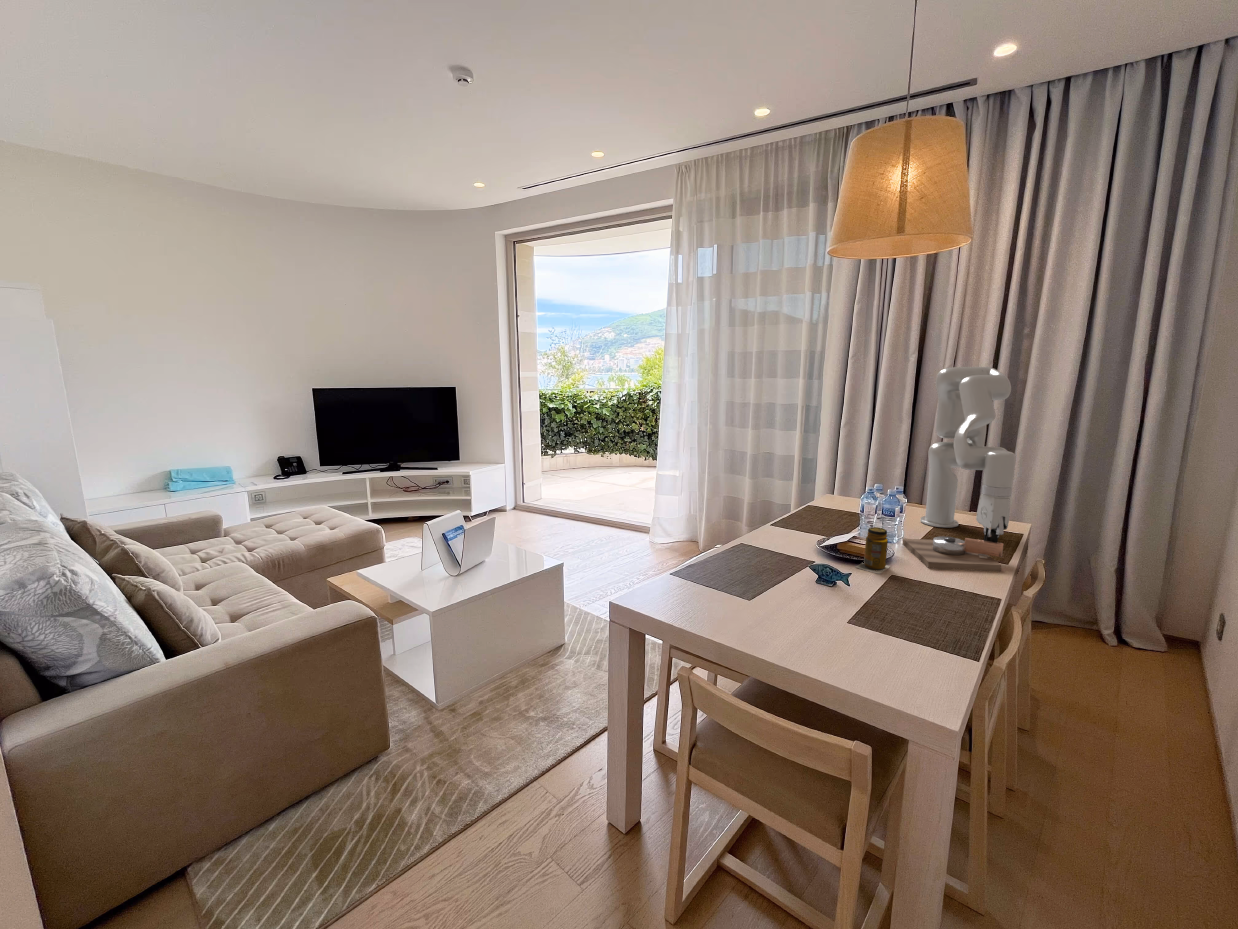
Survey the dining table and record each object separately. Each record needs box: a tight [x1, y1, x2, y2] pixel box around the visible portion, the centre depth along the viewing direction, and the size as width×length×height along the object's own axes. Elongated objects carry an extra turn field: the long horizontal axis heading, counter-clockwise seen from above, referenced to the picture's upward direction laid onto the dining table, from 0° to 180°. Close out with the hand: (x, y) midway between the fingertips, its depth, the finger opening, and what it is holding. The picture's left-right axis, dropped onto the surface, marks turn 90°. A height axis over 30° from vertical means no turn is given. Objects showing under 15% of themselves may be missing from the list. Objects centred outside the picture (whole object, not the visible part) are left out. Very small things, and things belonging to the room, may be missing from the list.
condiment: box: [855, 526, 891, 575], centre depth 162 cm, size 7×8×12 cm
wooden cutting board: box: [902, 538, 1003, 572], centre depth 170 cm, size 22×20×2 cm
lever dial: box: [932, 536, 1004, 558], centre depth 167 cm, size 18×9×4 cm, turn 56°
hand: (989, 547), depth 166 cm, fingers closed
